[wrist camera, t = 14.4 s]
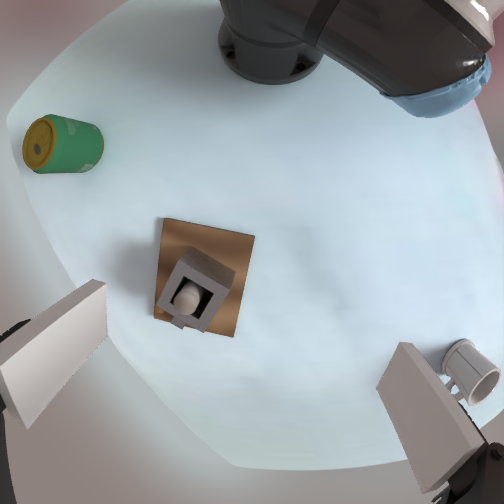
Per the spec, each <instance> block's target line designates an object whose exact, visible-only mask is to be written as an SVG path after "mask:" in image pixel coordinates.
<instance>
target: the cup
mask: <svg viewBox="0 0 504 504" xmlns="http://www.w3.org/2000/svg"><path fill="white" fill-rule="evenodd" d="M442 371H443V372H444V373H445V374H446V375H447V376H450V377H451V380H450V381H449V382H448V383H447V384H446V385H445V386H446V387H447V389H448V390H449V391H450V393H451V389H452V387H453V386H454V385H455V384H456V386H457V387H458V389H459V390H460V391H459V392H458V393H456V394H452V395H453V397H454V398H455V400H456V401H459V400H461V399H462V398H465V400H466V402H467V403H468V405H469V406H474V405H477V404H479V403H480V402H482V401H483V400H485V399H486V398H487V396H489V395H490V394H491V393H492V392H493V390H494V389H495V387H496V386H497V384H498V382H499V380H500V377H501V370H500V368H499V367H497V366H496V365H495V364H494V363H492V362H491V361H490V360H489V359H487V358H486V357H485V356H484V355H483V354H481V353H480V352H479V351H478V350H477V349H476V348H475V345H474V344H473V342H471V341H470V340H468V339H464V340H461V341H459V342H457V343H456V344H454V345H453V346H452V347H451V348H450V349H449V350H448V352H447V353H446V355H445V357H444V360H443V362H442Z"/></svg>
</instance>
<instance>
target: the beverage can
mask: <svg viewBox="0 0 504 504" xmlns="http://www.w3.org/2000/svg"><path fill="white" fill-rule="evenodd" d="M103 148H104V141H103V136H102V134H101V132H100V130H99V129H98V128H97V127H96V126H95V125H93V124H89V123H86V122H82V121H78V120H74V119H70V118H66V117H61V116H57V115H53V114H49V115H46V116H44V117H42V118H39V119H37V120H36V121H34V122H33V123H32V124H31V126H30V127H29V129H28V130H27V132H26V135H25V138H24V141H23V159H24V162H25V163H26V165H27V166H28V167H29V168H30V169H32V170H33V171H34V172H36V173H38V174H47V173H83V172H86V171H88V170H90V169H91V168H92V167H93V166H95V165H96V164H97V162H98V161H99V160H100V158H101V156H102V153H103Z"/></svg>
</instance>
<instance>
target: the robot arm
mask: <svg viewBox="0 0 504 504" xmlns="http://www.w3.org/2000/svg"><path fill="white" fill-rule="evenodd" d="M220 3H221V6H222V9H223V12H224V16H225V17H224V20H223V22H222V25H221V27H220V30H219V36H218V42H219V47H220V50H221V53H222V56H223V58H224V60H225V62H226V63H227V65H228V66H229V67H230V68H231V69H232V70H233V71H234V72H236V73H237V74H238V75H240V76H242V77H244V78H246V79H248V80H250V81H253V82H257V83H261V84H269V85H280V84H287V83H292V82H295V81H298V80H300V79H302V78H304V77H306V76H307V75H309V74H310V73H311V72H313V71H314V70H315V68H316V67H317V66H318V64H319V63H320V61H321V59H322V57H323V54H325V55H327V56H328V57H330V58H332V59H333V60H335V61H337V62H338V63H340V64H341V65H343V66H344V67H346V68H347V69H349V70H350V71H352V72H353V73H355V74H356V75H358V76H359V77H361V78H362V79H363V80H365V81H366V82H368V83H369V84H370V85H372V86H373V87H374V88H376V89H377V90H378V91H379V92H380V94H381V95H382V96H384V97H385V98H387V99H391V100H392V101H394V102H395V103H396V104H398V105H399V106H400V107H402V108H403V109H404V110H406V111H407V112H408V113H410V114H411V115H413V116H416V117H424V118H436V117H440V116H443V115H446V114H449V113H451V112H453V111H455V110H457V109H459V108H461V107H462V106H464V105H465V104H467V103H468V102H470V101H471V100H472V99H473V98H474V97H476V96H477V95H478V94H479V92H480V91H481V90H482V87H481V86H482V85H484V84H486V83H487V82H488V80H489V78H490V75H491V64H490V62H489V59H488V56H487V55H486V52H487V51H488V50H490V49H491V48H492V47H493V46H494V44H495V41H494V35H493V29H492V23H493V20H494V19H495V18H496V17H497V16H498V15H499V14H500V13H501V12H502V11H503V10H504V0H220ZM107 337H108V332H107V283H104V282H101V281H97V280H94V279H92V280H90V281H89V282H87V283H86V284H84V285H82V286H81V287H79V288H78V289H76V290H75V291H73V292H72V293H70V294H69V295H67V296H66V297H64V298H63V299H61V300H60V301H58V302H57V303H56V304H54V305H52V306H51V307H50V308H48V309H47V310H45V311H44V312H42V313H41V314H39V315H38V316H37V317H35V318H34V319H32V320H31V319H28V320H25V321H22V322H19V323H17V324H16V325H14V326H13V327H11V328H10V329H9V331H8V330H7V331H6V332H4V333H3V335H2V336H0V504H17V503H16V499H15V495H14V491H13V486H12V481H11V475H10V469H9V463H8V456H7V448H6V437H5V421H4V416H3V413H2V412H3V410H4V409H5V408H7V410H8V412H9V414H10V416H11V417H12V419H13V420H15V421H16V422H17V423H19V424H20V425H21V426H23V427H24V428H25V429H27V430H28V429H29V427H30V426H31V425H32V423H33V422H34V421H35V420H36V418H37V417H38V416H39V415H40V414H41V412H42V411H43V410H44V409H45V407H46V406H47V405H48V404H49V403H50V401H51V400H52V399H53V398H54V397H55V395H56V394H57V393H58V392H59V391H60V390H61V388H62V387H63V386H64V385H65V384H66V383H67V381H68V380H69V379H70V378H71V377H72V376H73V374H74V373H75V372H76V371H77V370H78V369H79V368H80V366H81V365H82V364H83V363H84V362H85V361H86V360H87V359H88V358H89V356H90V355H91V354H92V353H93V352H94V351H95V350H96V349H97V348H98V346H99V345H100V344H101V343H102V342H103V341H104V340H105V339H106V338H107ZM376 389H377V391H378V393H379V395H380V397H381V399H382V401H383V403H384V406H385V408H386V410H387V412H388V414H389V416H390V419H391V421H392V423H393V425H394V428H395V430H396V432H397V434H398V437H399V439H400V441H401V443H402V446H403V448H404V450H405V453H406V455H407V457H408V460H409V462H410V465H411V467H412V470H413V472H414V474H415V477H416V479H417V482H418V484H419V487H420V489H421V492H422V494H424V493H427V492H430V491H434V490H437V489H438V488H439V487H440V486H441V485H443V484H444V483H445V482H446V481H447V480H448V482H449V486H448V487H447V488H445V489H444V490H443V491H442V492H440V493H439V494H438V495H437V496H436V497H434V498H433V500H432V502H435V501H436V500H437V499H439V498H440V497H442V498H441V500H439V501H438V502H437V504H504V446H503V445H501V444H500V443H495V442H494V443H491V444H490V445H489V444H488V443H487V441H486V439H485V438H484V436H483V435H482V433H481V432H480V430H479V429H478V427H477V426H476V424H475V423H474V421H472V419H471V417H470V416H469V415H467V414H468V413H467V411H466V410H465V409H464V407H463V406H462V405H461V404H460V403H459V402H458V401H456V400H455V398H454V397H453V395H452V394H451V393H450V391H449V390H448V389H447V387H446V386H445V385H444V383H443V382H442V381H441V379H440V378H439V377H438V375H437V374H436V373H435V372H434V370H433V369H432V368H431V366H430V365H429V364H428V362H427V361H426V360H425V359H424V357H423V356H422V355H421V354H420V352H419V351H418V350H417V349H416V347H415V346H414V345H413V344H412V343H405V342H399V344H398V346H397V348H396V351H395V353H394V355H393V357H392V359H391V361H390V363H389V365H388V367H387V369H386V370H385V372H384V374H383V376H382V378H381V380H380V382H379V384H378V385H377V387H376Z"/></svg>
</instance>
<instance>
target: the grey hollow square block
mask: <svg viewBox="0 0 504 504" xmlns="http://www.w3.org/2000/svg"><path fill="white" fill-rule="evenodd" d="M235 273H236V271H234V270H232V269H230V268H229V267H227V266H225V265H224V264H222V263H220V262H218V261H217V260H215V259H213V258H212V257H210V256H208V255H207V254H205V253H203V252H201V251H200V250H198V249H196V248H195V247H192V248H191V249H189V250H188V251H187V252H186V253H185V254H184V255H183V256H182V257H181V258H180V259H179V260H178V262H177V264H176V266H175V268H174V270H173V272H172V274H171V276H170V278H169V279H168V281H167V284H166V286H165V288H164V290H163V292H162V294H161V296H160V298H159V300H158V302H157V304H156V306H158V307H160V308H161V309H163V310H165V311H166V312H168V313H170V314H171V315H173V316H174V317H173V319H172V321H171V323H172V324H173V325H175V326H177V327H178V328H180V329H183V327H184V326H185V324H186V323H187V324H188V325H190V326H192V327H194V328H195V329H197V330H199V331H201V332H203V333H204V332H205V330H206V329H207V327H208V325H209V324H210V322H211V320H212V319H213V317H214V316H215V314H216V312H217V311H218V309H219V308H220V306H221V304H222V303H223V301H224V300H225V298H226V296H227V295H228V293H229V291H230V290H231V286H232V283H233V280H234V276H235ZM187 278H188V279H190V280H192V281H193V282H195V283H197V284H199V285H200V286H202V287H204V288H205V289H207V290H209V291H211V292H212V293H211V295H210V297H207V296H205V295H203V296H202V298H201V300H200V302H199V304H198V306H197V308H196V310H195V311H194V312H193V313H192V314H190V315H183V314H181V313H179V312H178V311H177V310H176V309H175V307H174V299H175V297H176V296H177V295H178V293H179V292H180V291H181V289H182V288H183V286H184V285H185V283H184V282H185V281H186V279H187Z"/></svg>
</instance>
